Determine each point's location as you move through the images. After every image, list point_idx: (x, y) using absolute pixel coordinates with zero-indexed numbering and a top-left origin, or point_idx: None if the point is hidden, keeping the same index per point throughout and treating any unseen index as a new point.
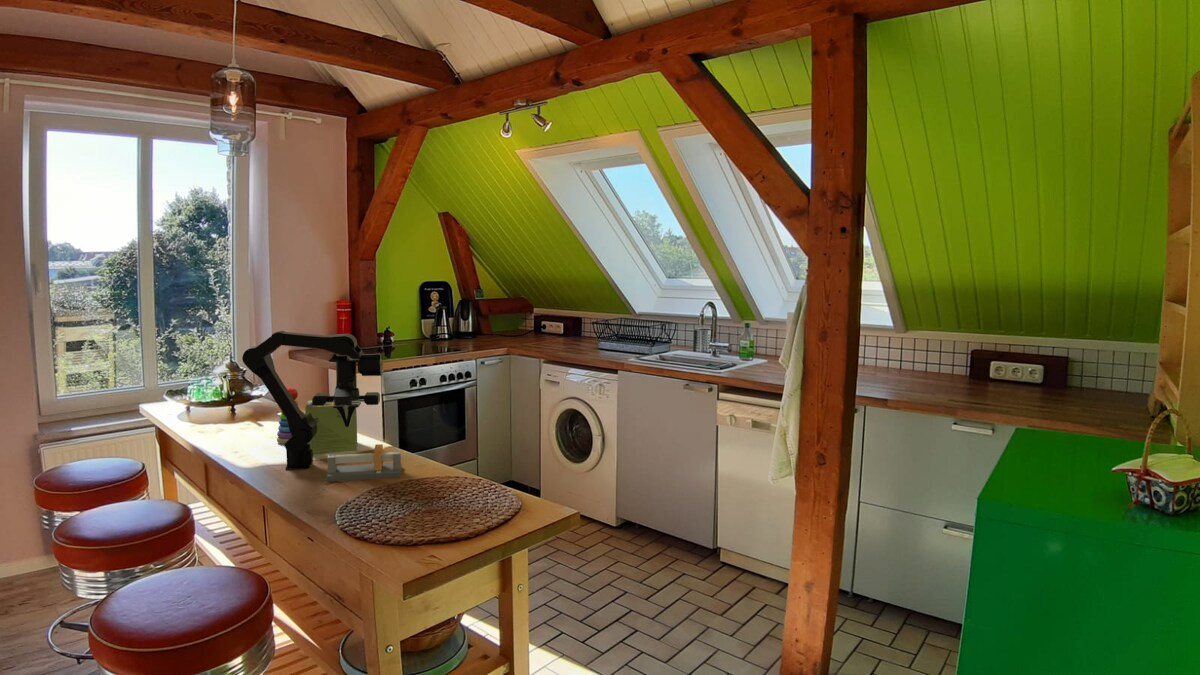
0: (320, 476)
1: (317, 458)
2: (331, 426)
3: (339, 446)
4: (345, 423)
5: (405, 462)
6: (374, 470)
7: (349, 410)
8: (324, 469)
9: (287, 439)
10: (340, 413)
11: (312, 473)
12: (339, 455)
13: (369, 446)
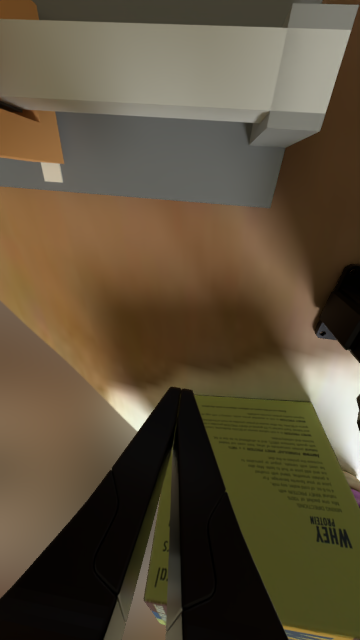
0: (324, 131)
1: (288, 364)
2: (253, 484)
3: (221, 409)
4: (191, 412)
5: (3, 251)
6: (35, 6)
7: (74, 629)
8: (287, 243)
9: None
10: (254, 570)
11: (347, 196)
12: (247, 81)
13: (147, 411)
